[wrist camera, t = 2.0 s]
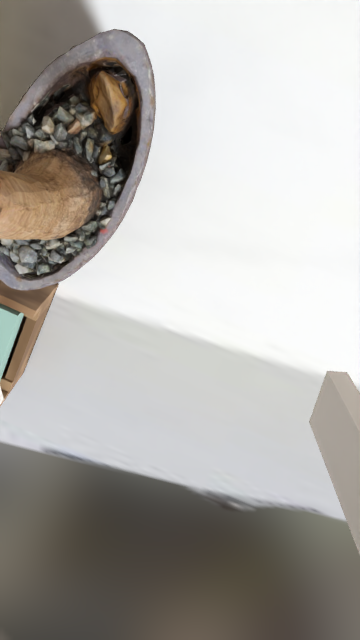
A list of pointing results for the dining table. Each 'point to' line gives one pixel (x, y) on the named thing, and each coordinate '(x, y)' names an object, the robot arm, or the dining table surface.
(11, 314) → the lid
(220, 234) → the dining table surface
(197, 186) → the dining table surface
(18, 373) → the box
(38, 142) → the planter
